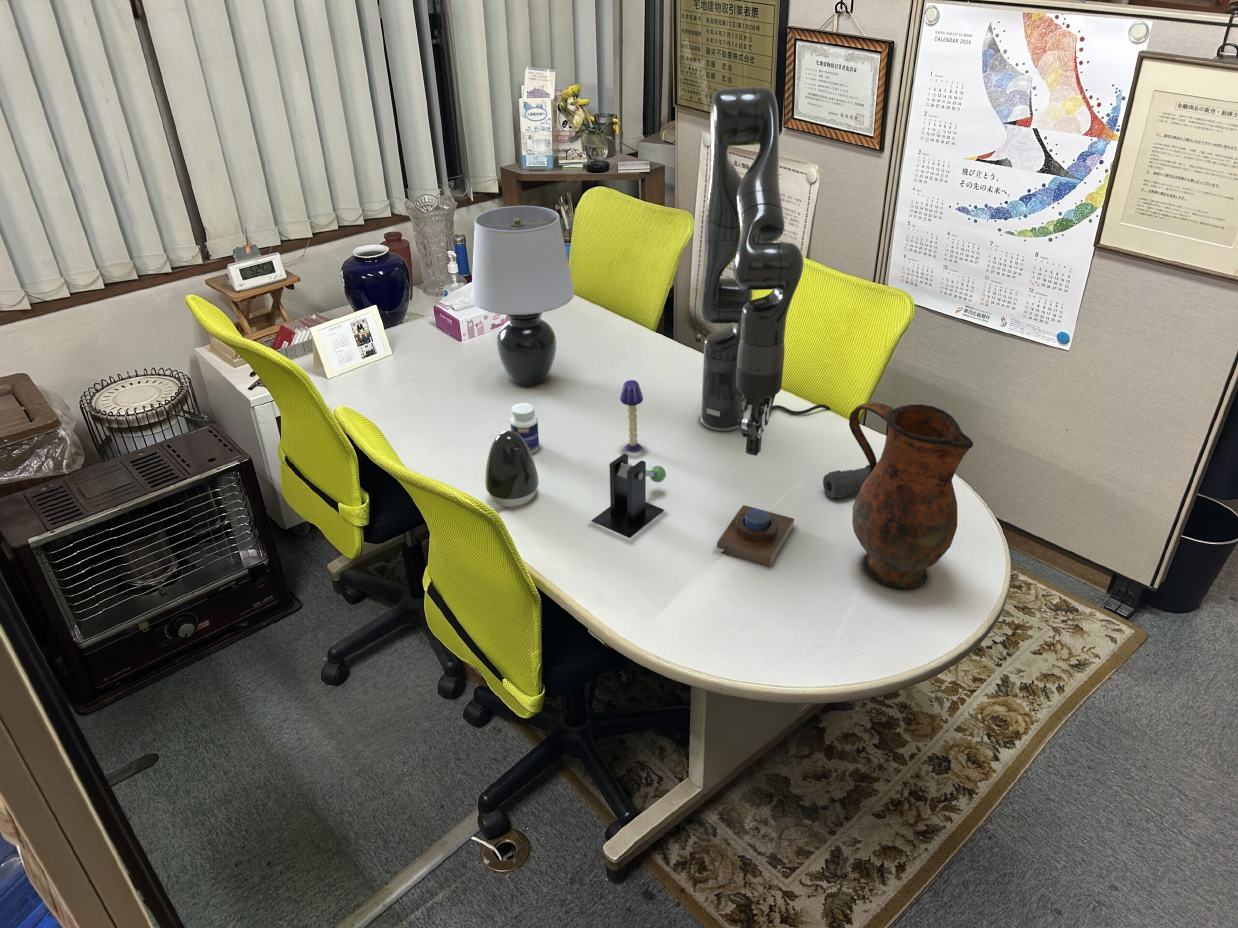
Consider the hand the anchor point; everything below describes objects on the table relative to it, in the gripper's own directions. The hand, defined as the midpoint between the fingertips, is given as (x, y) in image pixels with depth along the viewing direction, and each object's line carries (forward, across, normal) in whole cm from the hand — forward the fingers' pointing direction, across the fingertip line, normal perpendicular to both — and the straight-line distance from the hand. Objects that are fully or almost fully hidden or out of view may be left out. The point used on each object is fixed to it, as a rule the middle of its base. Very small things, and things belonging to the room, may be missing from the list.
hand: (753, 452), depth 155 cm
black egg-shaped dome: (+18, -10, +44) cm, 49 cm away
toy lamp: (+18, +16, +32) cm, 40 cm away
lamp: (+18, +36, +70) cm, 80 cm away
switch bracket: (+17, -6, +21) cm, 28 cm away
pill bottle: (+18, +7, +53) cm, 56 cm away
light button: (+14, -2, -2) cm, 14 cm away
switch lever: (+11, -2, +21) cm, 23 cm away
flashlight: (+18, +23, -16) cm, 33 cm away
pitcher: (+17, +1, -25) cm, 30 cm away
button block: (+17, -2, -2) cm, 18 cm away
